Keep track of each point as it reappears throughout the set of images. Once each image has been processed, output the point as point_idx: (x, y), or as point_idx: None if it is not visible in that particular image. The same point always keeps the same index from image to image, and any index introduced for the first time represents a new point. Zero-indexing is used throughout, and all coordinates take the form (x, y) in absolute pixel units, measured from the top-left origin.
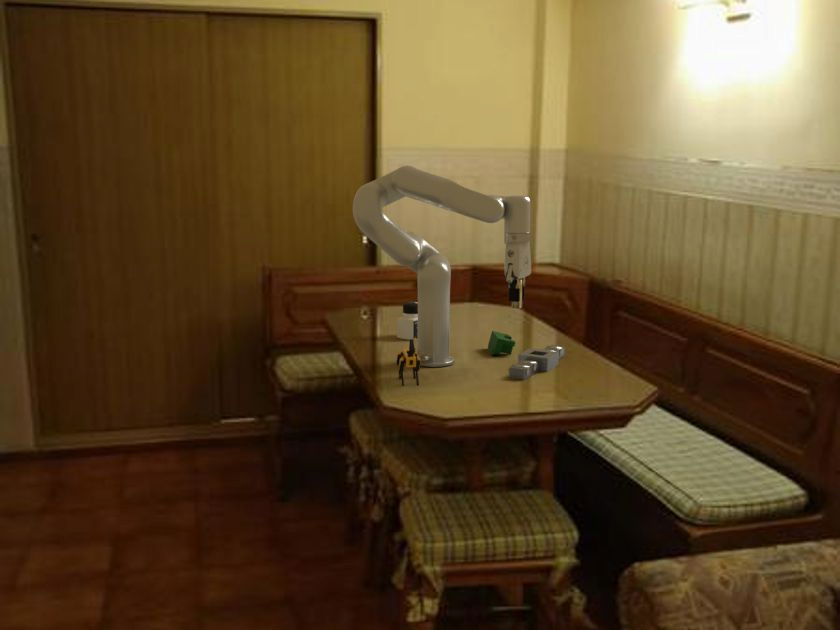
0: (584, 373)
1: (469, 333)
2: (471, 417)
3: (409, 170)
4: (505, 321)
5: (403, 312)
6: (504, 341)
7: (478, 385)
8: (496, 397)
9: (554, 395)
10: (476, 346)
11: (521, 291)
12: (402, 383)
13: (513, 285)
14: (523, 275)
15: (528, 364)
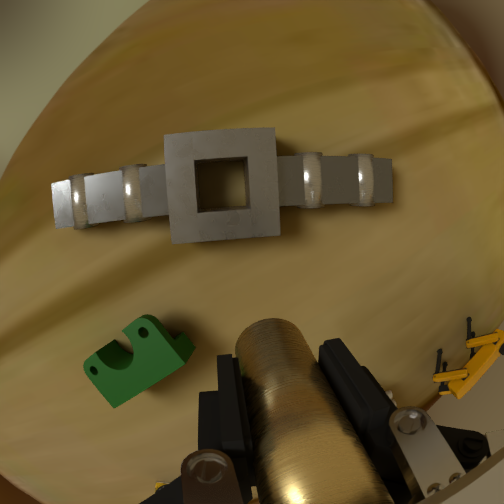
0: (221, 48)
1: (69, 442)
2: None
3: None
4: None
5: None
6: (171, 343)
7: (446, 232)
8: (481, 168)
9: (427, 71)
10: (137, 408)
11: (304, 399)
12: (474, 334)
13: (449, 432)
14: (486, 493)
15: (337, 168)
